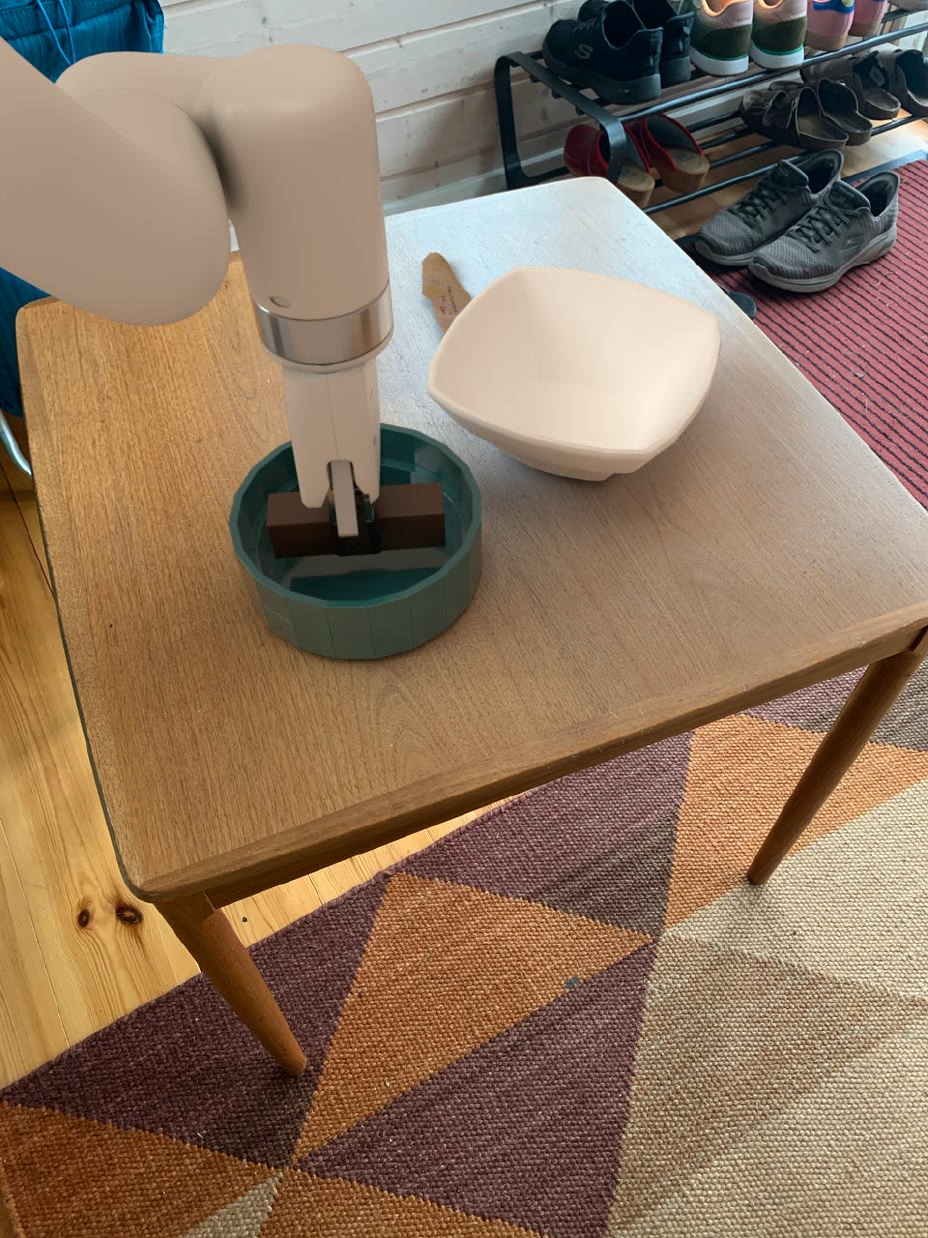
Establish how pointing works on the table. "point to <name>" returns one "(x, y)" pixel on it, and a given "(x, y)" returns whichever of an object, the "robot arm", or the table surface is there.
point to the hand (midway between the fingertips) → (358, 530)
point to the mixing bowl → (363, 560)
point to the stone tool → (443, 290)
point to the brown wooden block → (402, 509)
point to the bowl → (576, 369)
